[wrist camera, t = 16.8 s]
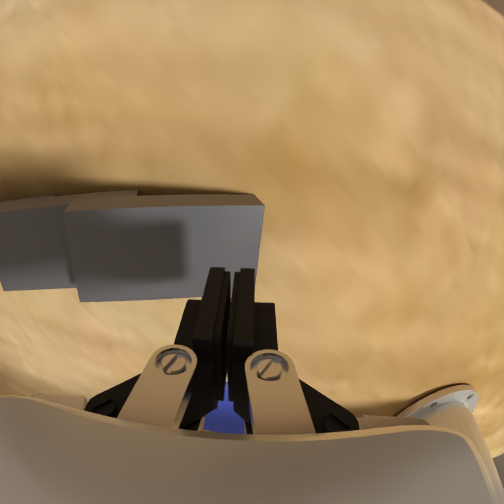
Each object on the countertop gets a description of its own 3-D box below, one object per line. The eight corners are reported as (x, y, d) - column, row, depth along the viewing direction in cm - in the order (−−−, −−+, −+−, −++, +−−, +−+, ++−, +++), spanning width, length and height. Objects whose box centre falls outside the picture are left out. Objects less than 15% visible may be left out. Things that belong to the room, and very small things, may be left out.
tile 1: (264, 205, 15) (63, 211, 12) (254, 292, 17) (80, 302, 14) (254, 194, 16) (73, 199, 13) (245, 275, 18) (85, 283, 16)
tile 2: (136, 198, 14) (-18, 214, 12) (143, 283, 17) (3, 290, 14) (138, 189, 16) (-5, 204, 13) (143, 267, 18) (12, 275, 15)
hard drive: (319, 401, 23) (167, 371, 21) (283, 444, 26) (159, 421, 25) (316, 387, 24) (171, 357, 23) (282, 431, 28) (162, 408, 26)
